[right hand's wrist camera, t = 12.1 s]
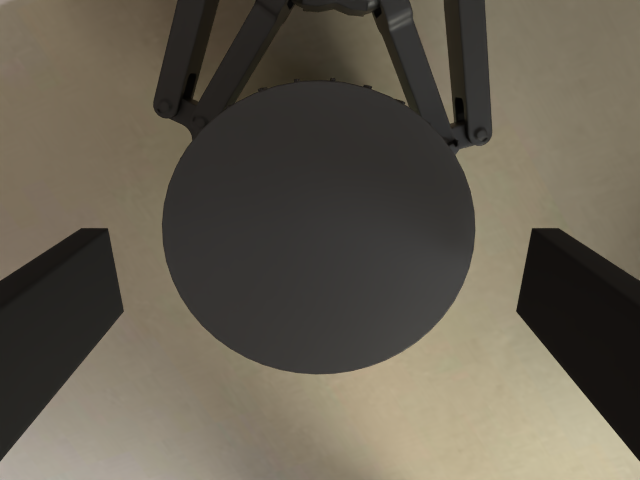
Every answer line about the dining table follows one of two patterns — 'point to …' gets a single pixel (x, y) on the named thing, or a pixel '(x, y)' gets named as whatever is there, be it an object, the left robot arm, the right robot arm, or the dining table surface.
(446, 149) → the lid
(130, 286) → the dining table surface
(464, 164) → the dining table surface
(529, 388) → the dining table surface
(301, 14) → the dining table surface
